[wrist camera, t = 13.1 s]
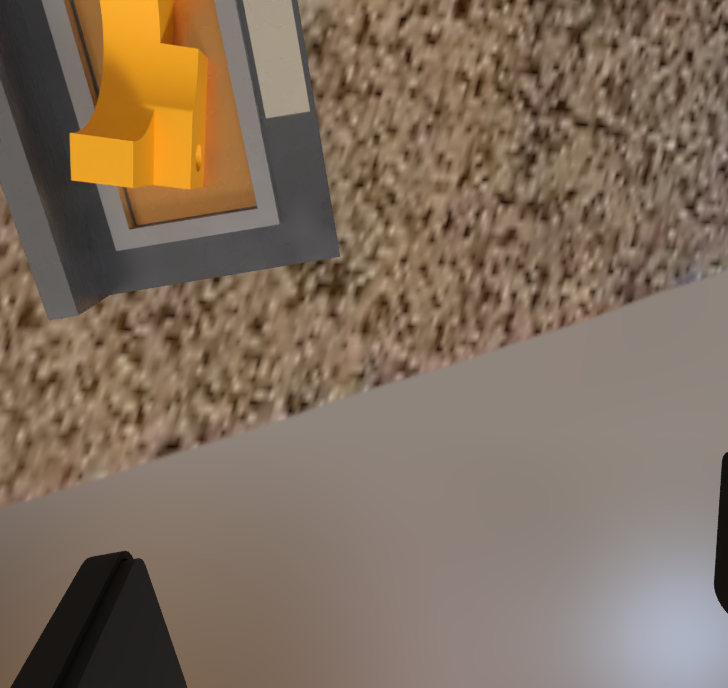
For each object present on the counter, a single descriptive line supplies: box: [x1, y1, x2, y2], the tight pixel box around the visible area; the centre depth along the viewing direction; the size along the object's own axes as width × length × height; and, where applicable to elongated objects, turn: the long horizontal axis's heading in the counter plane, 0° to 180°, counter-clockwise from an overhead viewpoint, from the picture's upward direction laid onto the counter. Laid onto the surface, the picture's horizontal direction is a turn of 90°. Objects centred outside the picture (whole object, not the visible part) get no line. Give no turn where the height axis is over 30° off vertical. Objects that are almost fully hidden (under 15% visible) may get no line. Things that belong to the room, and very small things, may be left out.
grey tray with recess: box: [0, 0, 340, 320], centre depth 27 cm, size 15×22×6 cm
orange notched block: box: [70, 0, 208, 190], centre depth 25 cm, size 12×4×6 cm, turn 173°
